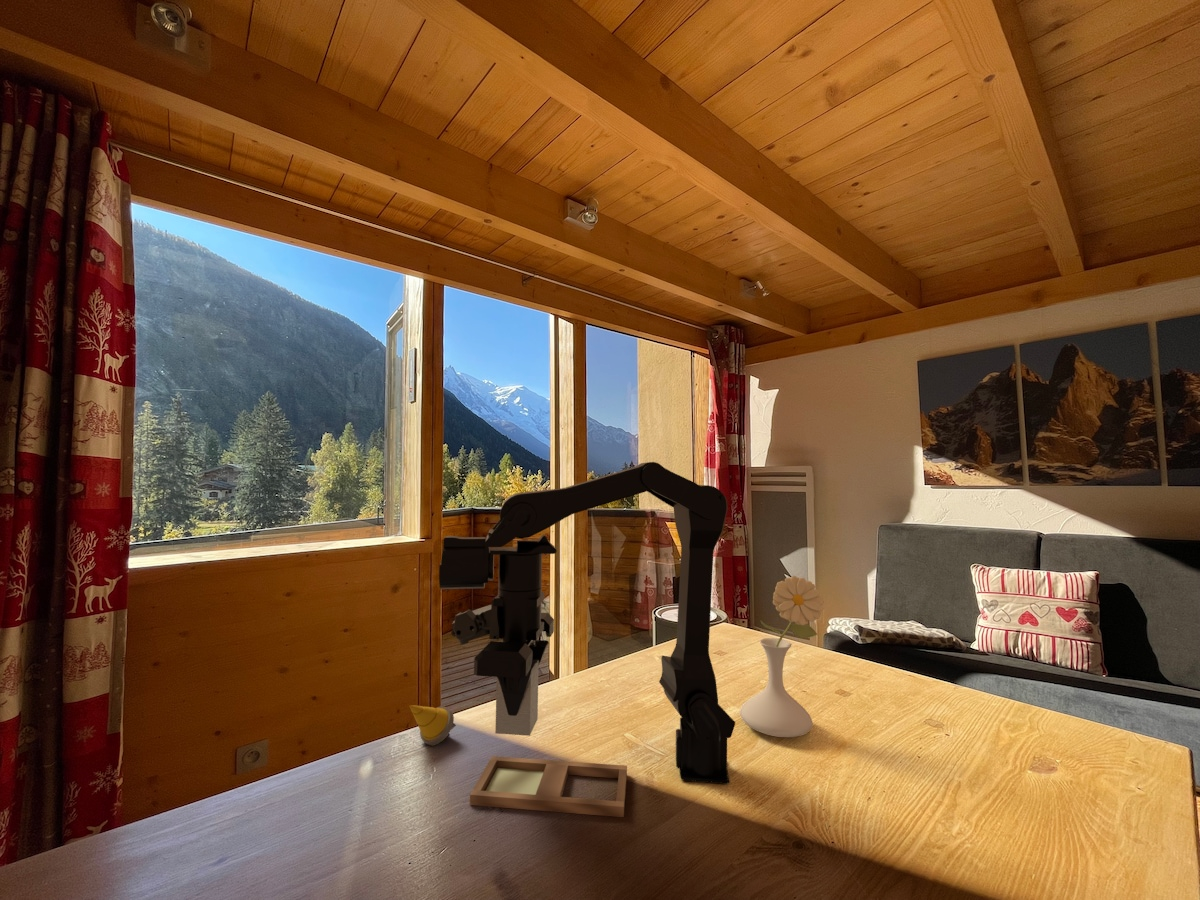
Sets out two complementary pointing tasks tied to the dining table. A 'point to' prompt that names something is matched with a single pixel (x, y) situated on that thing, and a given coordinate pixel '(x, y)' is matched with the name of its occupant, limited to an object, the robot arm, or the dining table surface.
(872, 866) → the dining table surface
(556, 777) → the wooden double frame
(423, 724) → the yellow and grey cone
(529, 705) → the grey tall block
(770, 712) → the flower in vase
